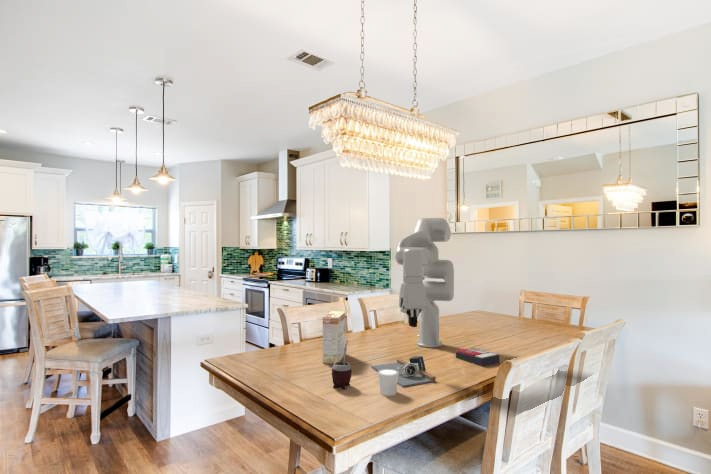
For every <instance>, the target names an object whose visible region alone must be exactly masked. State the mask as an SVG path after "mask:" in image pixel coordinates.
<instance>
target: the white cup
mask: <svg viewBox="0 0 711 474" xmlns="http://www.w3.org/2000/svg"><path fill="white" fill-rule="evenodd" d="M377 373H378V374H377V375H378V383H379V387H378V388H379V394H381V395H382V396H386V397H391V396H393V397H394V396H395V395H397V391H398V384H397V382H398V371H396V370H393V369H382V370H380V371H379V372H378V371H377Z"/></svg>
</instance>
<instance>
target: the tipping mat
mask: <svg viewBox="0 0 711 474" xmlns="http://www.w3.org/2000/svg"><path fill="white" fill-rule="evenodd" d="M405 364H408V361H406V360H405V359H402V358H399V359H398V358H397V359H396V362H391V363H384V364H378V365H377V364H376V365H371V366H370V367H371V369H373V370H374V371H376V372H377V373H378V372H379V371H380V370H382V369H393V370H396V371H398V367H400V366H402V365H405ZM436 380H437V379H436V376H435V375H433V374H432V373H429V372H427V371H424V370H419V371H418V373H417V374H416V375H415V376H414V377H408V376H404V375H399V373H398V382H397V386H400V387H402V388H406V387H407V388H408V387H413V386H418V385H423V384H425V385H426V384H429V383H435V382H436Z"/></svg>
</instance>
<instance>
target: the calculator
mask: <svg viewBox="0 0 711 474" xmlns="http://www.w3.org/2000/svg"><path fill="white" fill-rule="evenodd" d="M455 359H458V360H461V361H463V362H467V363H471V364H474V365H476V366H479V367H481V368H484V367H489V366H493V365H496V364H500V354H499V353H495V352H491V351H489V350H484V349H480V348H475V347H468V348H463V349H460V350H459V349H458V350H457V351H455Z"/></svg>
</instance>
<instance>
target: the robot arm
mask: <svg viewBox="0 0 711 474" xmlns="http://www.w3.org/2000/svg"><path fill="white" fill-rule="evenodd" d="M451 235H452V231H451V227H450V224H449V223H448V221H447V220H446V218H443V217H425V218H424V217H423V218H420V219H419V220H418V221H417V222H416V224H415V227H414V230H413V233H411V234H409V235H407V236H406V237H404V238H403V239H401V240H400V241H399V243H398V246H397V247H396V251H395V262H396V263H397V264H398V265H401V266H402V267H403V268H402V271H403V273H402V274H403V275H402V276H403V277H402V282H401V284H400V288H399V296H398V298H399V299H398V306H399V308H400V312H401V313H405V314H406V315H407V316H408V325H409V327H412V328H417V327H418V317H419V334H417V335H416V337H418V340H416V345H417V346H420V347H424V348H432V349H433V348H440V347H442V346H443V342H442V341H440V308H439V305H437V304H436V301H437V302H438V301H439V302H450V301H452V300H453V299H454V296H455V267H454V264H453V262H452V261H451V260H449V259H440V258H439V248H438V246H437V245H436V244H435V243H445V242H448V241H450V239H451ZM434 242H435V243H434ZM425 279H433V281H432V280H425ZM435 279H436V280H437V279H438V280H443V281H435Z"/></svg>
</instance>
